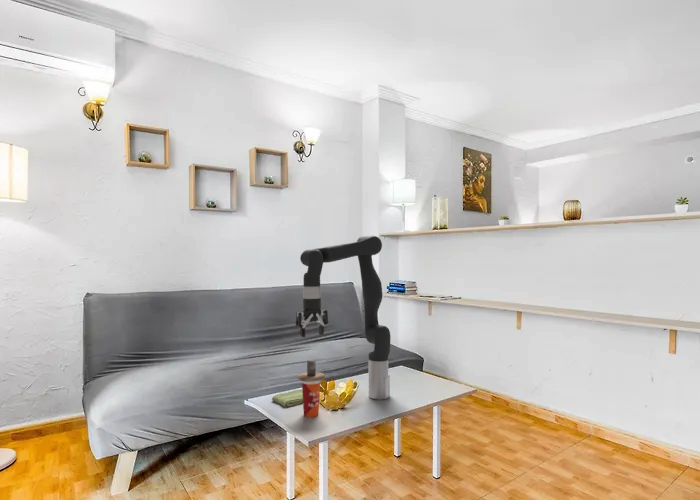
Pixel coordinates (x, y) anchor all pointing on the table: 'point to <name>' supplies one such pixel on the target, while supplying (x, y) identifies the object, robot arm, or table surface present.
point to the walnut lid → (311, 373)
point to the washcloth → (289, 398)
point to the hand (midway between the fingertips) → (312, 335)
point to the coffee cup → (311, 398)
